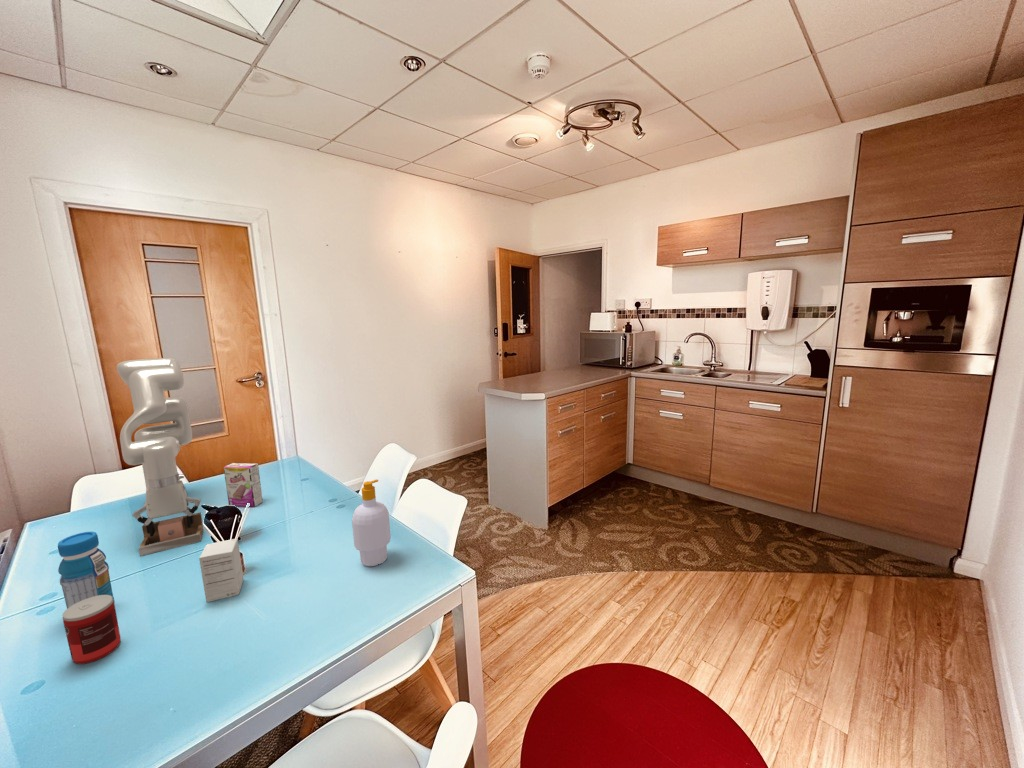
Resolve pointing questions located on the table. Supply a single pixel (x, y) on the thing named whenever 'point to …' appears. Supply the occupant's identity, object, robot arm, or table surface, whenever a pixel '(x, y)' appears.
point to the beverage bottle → (83, 568)
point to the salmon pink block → (171, 529)
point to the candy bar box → (243, 484)
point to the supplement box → (221, 569)
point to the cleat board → (165, 545)
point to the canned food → (91, 628)
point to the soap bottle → (371, 527)
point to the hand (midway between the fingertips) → (171, 530)
